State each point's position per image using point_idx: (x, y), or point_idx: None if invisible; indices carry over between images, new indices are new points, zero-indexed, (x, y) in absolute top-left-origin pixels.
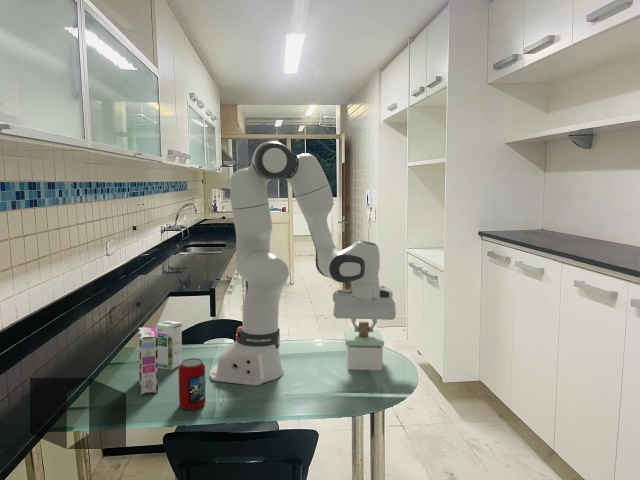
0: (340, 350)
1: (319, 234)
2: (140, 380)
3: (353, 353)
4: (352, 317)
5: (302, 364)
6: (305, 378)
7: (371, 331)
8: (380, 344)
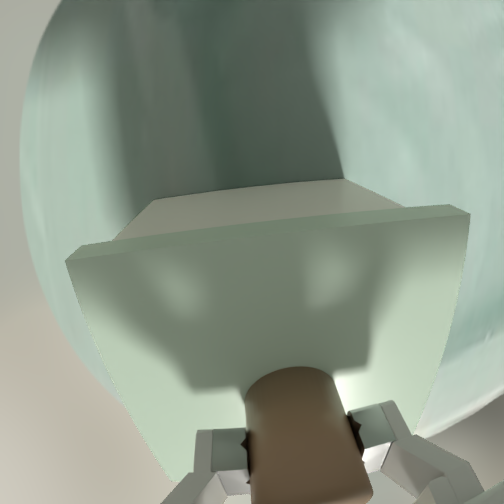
0: None
1: None
2: None
3: (354, 204)
4: (501, 498)
5: (500, 239)
6: (494, 100)
7: (213, 432)
8: (106, 246)
